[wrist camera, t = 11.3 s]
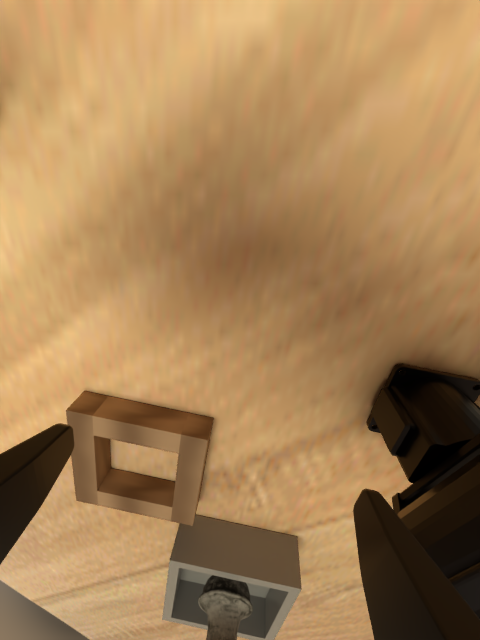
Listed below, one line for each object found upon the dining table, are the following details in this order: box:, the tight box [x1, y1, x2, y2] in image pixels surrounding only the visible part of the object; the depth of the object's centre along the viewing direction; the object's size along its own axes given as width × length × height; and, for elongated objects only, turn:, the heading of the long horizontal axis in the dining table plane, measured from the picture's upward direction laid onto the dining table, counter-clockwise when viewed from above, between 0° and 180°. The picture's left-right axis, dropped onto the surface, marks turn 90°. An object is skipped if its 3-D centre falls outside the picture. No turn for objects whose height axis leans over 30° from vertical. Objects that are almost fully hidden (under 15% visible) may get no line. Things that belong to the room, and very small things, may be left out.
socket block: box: [66, 391, 213, 526], centre depth 26 cm, size 12×12×2 cm
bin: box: [162, 515, 301, 640], centre depth 31 cm, size 13×13×4 cm
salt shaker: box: [198, 575, 253, 640], centre depth 27 cm, size 6×6×12 cm
